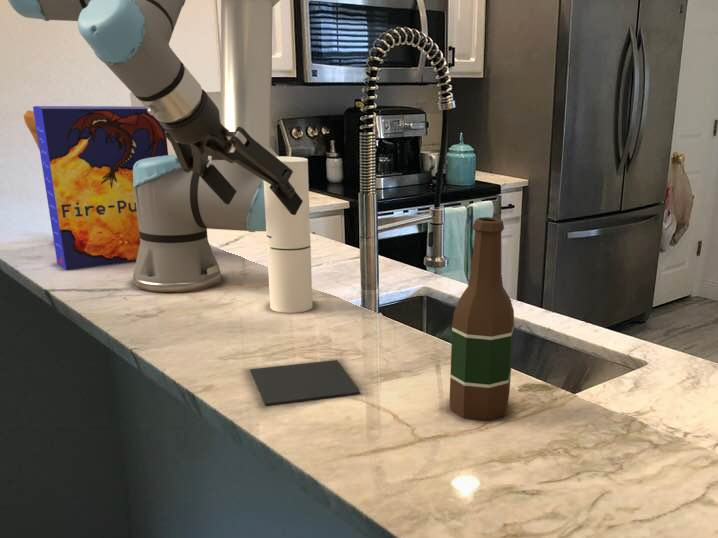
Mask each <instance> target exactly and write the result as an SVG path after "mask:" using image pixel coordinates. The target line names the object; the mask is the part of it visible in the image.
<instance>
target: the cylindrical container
mask: <svg viewBox="0 0 718 538" xmlns="http://www.w3.org/2000/svg"><path fill="white" fill-rule="evenodd" d="M276 158H278V159H279V160H280V161H281V162H283V163H284V164H285V165H286V166H288V167H289V168H290V169H291V170H292V171H293V173H292V175H291V177H290V178H289V180H288V181H289V183H290V184H291V185H292V187H293V188H294V189H295V192H296V193H297V194H298V195H299V197H300V198H301V199H302V201H303V202H302V204H301V206H300V207H299V209H298V211H297V213H296V215H291V213H290V212H289V211H288V210H287V208H286V207H285V206H284V205H283V204H282V202H281V201H280V200H279V199H278V197H277V196H276V195H275V194H274V193H273V191H272V190H271V189H270V186H271V184H269V183H268V182H266V181H264V198H265V217H266V231H265V232H266V233H265V234H266V251H267V252H266V253H267V271H268V292H269V308H270V309H271V310H272V311H274V312H276V313H284V314H294V313H296V314H297V313H303V312H307V311H310V310H311V309H312V308H313V282H312V281H313V280H312V249H311V248H312V247H311V219H310V218H311V217H310V215H311V214H310V188H309V187H310V184H309V183H310V182H309V159H308V158H305V157H300V156H285V155H284V156H281V155H280V156H279V155H278V156H276Z"/></svg>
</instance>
